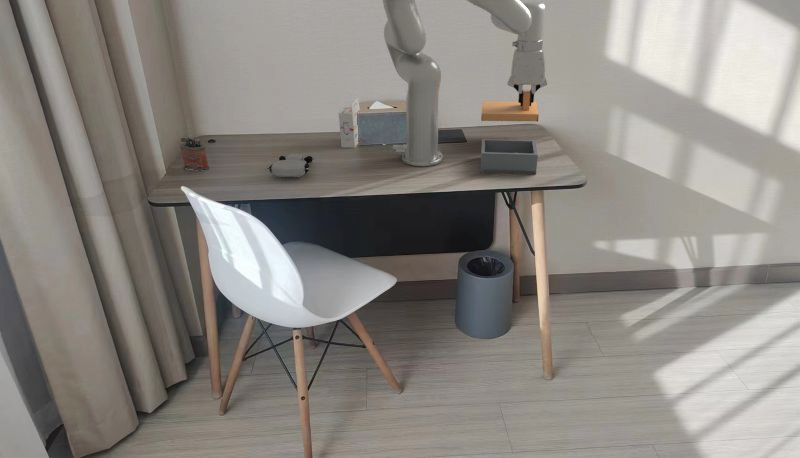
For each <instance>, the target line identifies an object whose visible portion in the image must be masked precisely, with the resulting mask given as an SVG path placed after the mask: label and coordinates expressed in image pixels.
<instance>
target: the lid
mask: <svg viewBox="0 0 800 458" xmlns="http://www.w3.org/2000/svg"><path fill="white" fill-rule="evenodd" d="M522 90H523V106H521V104H520V103H518V101H515V100H512V101H511V100H482V102H481V115H480V117H481V121H480V122H539V109H538V103H537V101H535V100H534V102H533V103H531V106H530V89H529V88H528V89H526V88H525V89H522Z"/></svg>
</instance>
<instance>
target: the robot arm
mask: <svg viewBox="0 0 800 458" xmlns="http://www.w3.org/2000/svg"><path fill="white" fill-rule="evenodd" d="M466 1H467V2H468V3H470V4H472V5H474V6H475V7H477V8H479V9H482V10H484V11H486V12H488V13H489V14H490V20H491V23H492V25H494V26H495V27H496V28H497V29H499V30H502V31H505V32H509V33H511V34H514V35H517V39H516V40H515V41H512V45H511V46H512V47H515V48H516V49H514V51H513V55H512V61H511V71H510V76H509V78H508V80H507V82H506V84H507V86H509V87H512V88H513V89H515V91H517V92H518V103H520V104H521V106H523V88H524V85H527V86H528V85H529V86H530V89H529V91H530V106H531V103H533V102H534V101H535V93H536V92H537V91H539V90H540V89H541V88H544V87H546V86H547V85H548V82H547V81H548V80H547V78H546V52H545V50H544V48H543V41H544V30H545V18H546V17H545V16H546V5H545V3H543V2H541V1H533V0H532V1H525V2H522V1H520V0H466ZM382 4H383V8H384V12H385V15H386V19H387V21H386V22H385V24H384V27H383V28H384V29H383V35H384V36H383V38H384V41H385V44H386V47H387V50H388V53H389V56H390V57H391V61H392V64H393V66H394V69H395V70H396V71H395V72H396V73H397V74H398V76H399V77H400V78H401V79H402V80H404V81H405V82H406V83H407V92H406V93H407V94H406V98H405V99H406V100H405V111H406V112H405V113H406V144H405V143H404V144H403V145H402V144H400V145H399V144H393V145H392V151H393V152H395V154H402V156H401V159H402V161H403V163H404V164H407V165H410V166H415V167H431V166H434V165H437V164H439V163H441V162H442V161H443V158H444V154H443V153H442V152H441V151H439V93H440V87H441V81H442V71H441V67H440V66H439V64H438V62H437V61H436V60H435V59H433V57H431V56H429V55H427V54H425V53H424V52H423V51H422V50H423V49H424V48H425V46H426V42H427V37H426V31H425V29H424V26H423V22H422V19H421V16H420V13H419V11H418V8H417V3H416V0H382Z"/></svg>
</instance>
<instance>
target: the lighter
mask: <svg viewBox="0 0 800 458" xmlns="http://www.w3.org/2000/svg"><path fill="white" fill-rule="evenodd" d="M180 142H181V143H182V144H180V145H179V148H180V150H181V154H182V159H183V164H184V167H183V168H184V169H185V168H187V169H193V170H207V169H209V170H210V166H209V163H208V162H209V161H208V158H207V153H206V145H205V144H201V139H200V138H196V137H194V136H192V137H186V136H183V137H180ZM207 171H208V170H207Z"/></svg>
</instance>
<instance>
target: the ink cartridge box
mask: <svg viewBox="0 0 800 458" xmlns="http://www.w3.org/2000/svg"><path fill="white" fill-rule="evenodd" d="M359 100H360V99H359V97H356V98H355V99H354V100H353V101H352V102H351V104H350V105H344V107H343V108H342V109H341V110H340V111H339V112H338V122H339V123H338V124H339V132H340V133H339V134H340V146H341V148H344V149H345V148H347V149H348V148H350V149H355V148H356V147H357V146H358V144H359V143H360V142H358V125H357V112H358V111H359V110H360V109H361V108H360V101H359ZM360 111H361V110H360Z"/></svg>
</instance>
